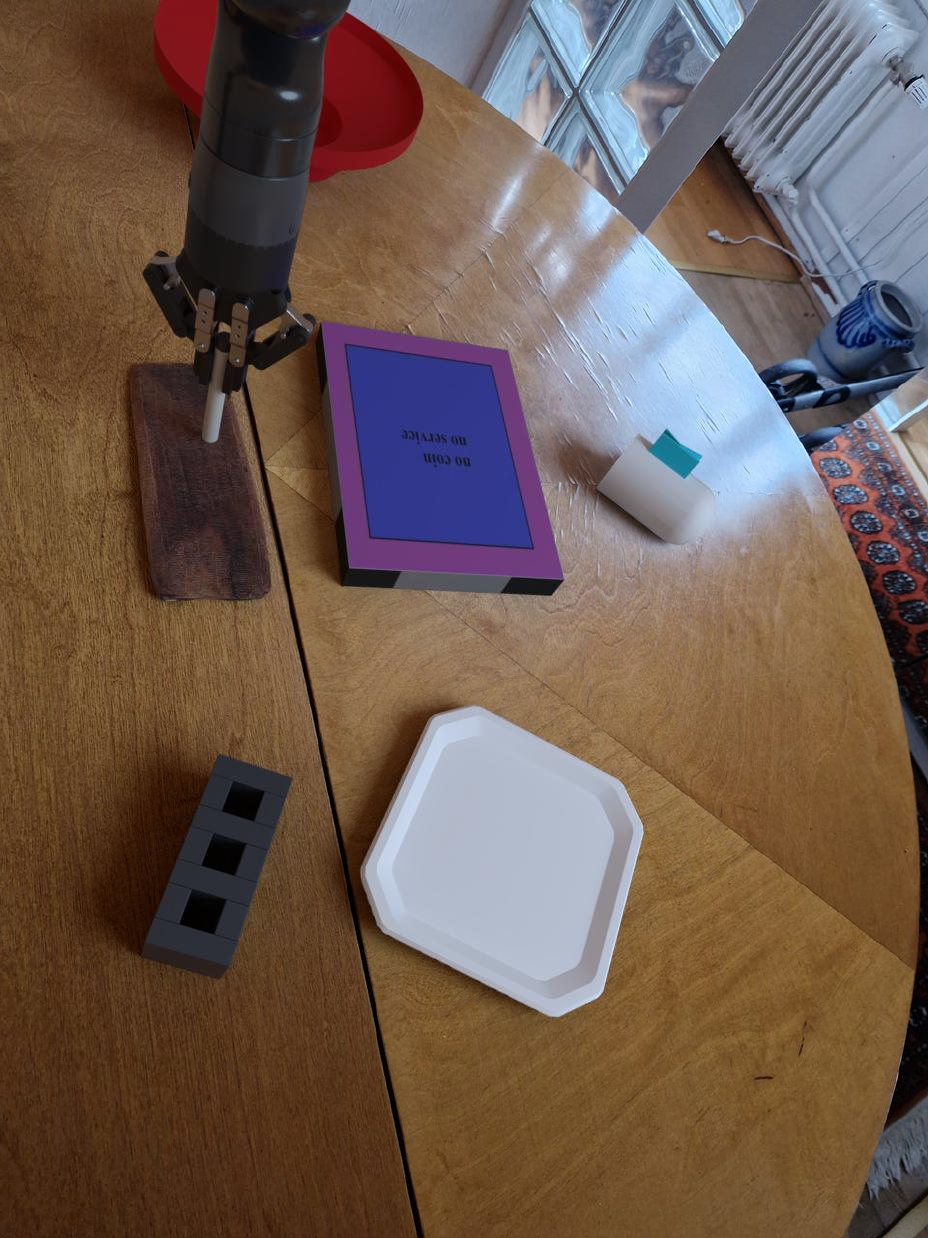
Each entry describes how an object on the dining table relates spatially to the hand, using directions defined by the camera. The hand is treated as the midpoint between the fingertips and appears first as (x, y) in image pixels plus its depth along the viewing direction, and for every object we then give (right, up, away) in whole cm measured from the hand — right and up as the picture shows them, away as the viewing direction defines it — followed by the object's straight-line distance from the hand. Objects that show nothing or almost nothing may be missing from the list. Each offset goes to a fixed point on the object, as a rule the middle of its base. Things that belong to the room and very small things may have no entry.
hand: (217, 382), depth 74 cm
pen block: (+3, -38, -11) cm, 39 cm away
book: (+17, -4, +16) cm, 24 cm away
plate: (+24, -39, -2) cm, 46 cm away
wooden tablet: (-4, -7, +6) cm, 10 cm away
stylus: (-2, -3, +6) cm, 7 cm away
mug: (+41, -7, +24) cm, 49 cm away
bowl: (-2, +39, +34) cm, 52 cm away
